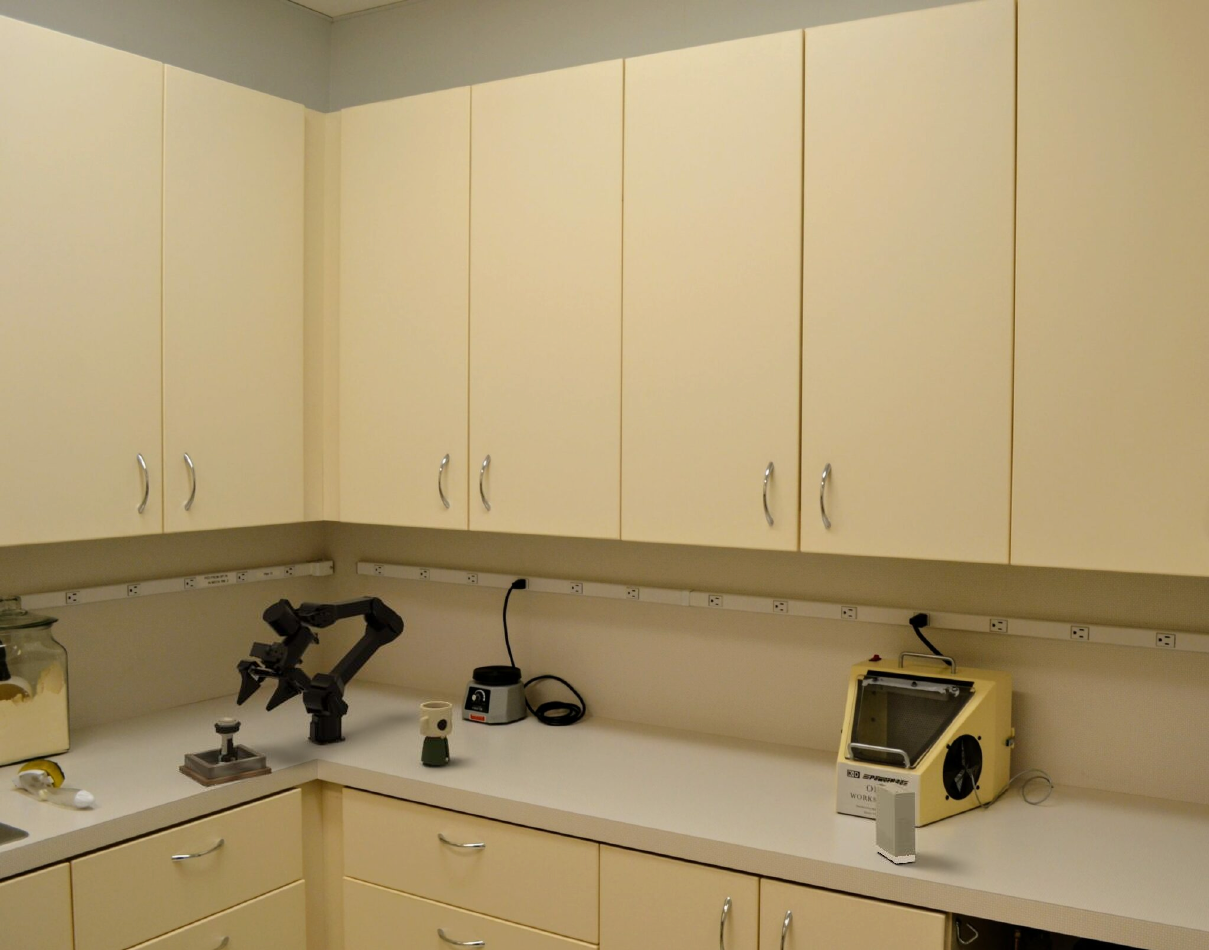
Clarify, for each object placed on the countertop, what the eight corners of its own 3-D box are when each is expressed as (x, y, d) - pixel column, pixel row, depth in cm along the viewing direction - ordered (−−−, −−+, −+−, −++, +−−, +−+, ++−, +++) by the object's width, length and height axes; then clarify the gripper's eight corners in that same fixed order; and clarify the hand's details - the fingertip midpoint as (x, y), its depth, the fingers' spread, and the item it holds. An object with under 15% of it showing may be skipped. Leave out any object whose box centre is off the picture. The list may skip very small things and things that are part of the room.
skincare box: (916, 862, 175) (918, 792, 175) (894, 865, 173) (895, 794, 173) (894, 849, 181) (896, 781, 180) (873, 852, 179) (874, 783, 179)
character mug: (434, 772, 220) (435, 712, 220) (407, 767, 223) (408, 708, 223) (462, 759, 230) (463, 701, 230) (436, 755, 233) (437, 697, 233)
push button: (231, 772, 215) (231, 724, 215) (206, 771, 215) (206, 723, 215) (244, 762, 221) (245, 716, 221) (220, 761, 222) (221, 715, 222)
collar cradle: (242, 758, 228) (242, 742, 228) (271, 772, 218) (271, 756, 218) (179, 770, 218) (179, 754, 218) (206, 786, 208) (206, 769, 208)
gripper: (243, 623, 233) (202, 681, 224) (301, 631, 224) (261, 692, 214) (270, 652, 240) (231, 709, 231) (328, 661, 231) (290, 721, 221)
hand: (252, 707), depth 224 cm, fingers open, 9 cm apart
